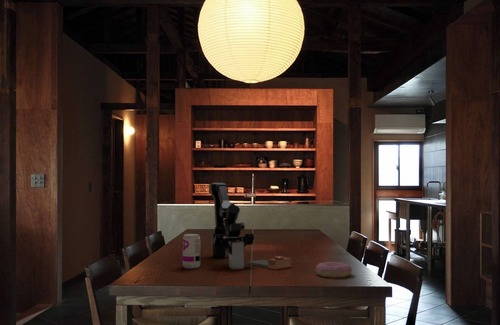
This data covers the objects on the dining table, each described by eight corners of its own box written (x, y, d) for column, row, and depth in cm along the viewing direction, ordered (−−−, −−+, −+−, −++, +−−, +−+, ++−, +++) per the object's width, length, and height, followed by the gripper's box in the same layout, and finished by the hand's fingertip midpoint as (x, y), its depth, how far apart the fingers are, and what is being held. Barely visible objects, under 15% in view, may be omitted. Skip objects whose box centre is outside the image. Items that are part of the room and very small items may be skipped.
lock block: (229, 267, 235) (229, 239, 236) (240, 266, 237) (240, 239, 237) (232, 269, 230) (232, 241, 230) (243, 268, 231) (243, 240, 232)
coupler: (247, 264, 243) (247, 253, 243) (262, 261, 249) (262, 251, 250) (275, 269, 229) (275, 258, 229) (290, 267, 236) (290, 256, 236)
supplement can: (186, 269, 230) (186, 236, 231) (180, 266, 238) (180, 234, 238) (202, 267, 234) (203, 235, 234) (196, 264, 241) (196, 233, 242)
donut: (327, 280, 207) (327, 268, 207) (308, 273, 221) (308, 262, 221) (359, 277, 213) (359, 265, 213) (339, 271, 227) (338, 259, 227)
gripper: (214, 217, 235) (220, 243, 224) (253, 216, 240) (260, 242, 229) (211, 232, 242) (216, 259, 231) (248, 231, 248) (255, 257, 237)
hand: (237, 254), depth 232 cm, fingers closed on lock block, 5 cm apart
